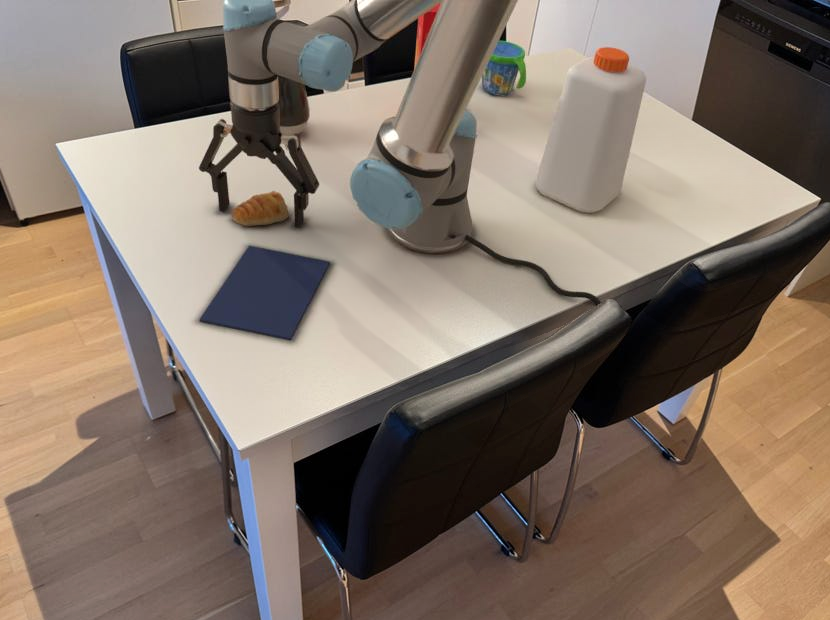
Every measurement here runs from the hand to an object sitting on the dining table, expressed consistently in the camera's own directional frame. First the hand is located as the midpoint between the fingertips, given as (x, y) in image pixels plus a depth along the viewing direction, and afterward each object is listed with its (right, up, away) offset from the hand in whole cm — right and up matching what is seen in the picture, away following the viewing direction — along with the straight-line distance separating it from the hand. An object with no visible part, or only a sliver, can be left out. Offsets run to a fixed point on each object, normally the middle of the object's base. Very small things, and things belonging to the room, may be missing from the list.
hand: (261, 216), depth 131 cm
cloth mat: (+5, -15, -15) cm, 21 cm away
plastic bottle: (+59, +9, +19) cm, 63 cm away
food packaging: (+28, +30, +36) cm, 54 cm away
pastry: (0, 0, 0) cm, 0 cm away
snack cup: (+45, +41, +51) cm, 79 cm away
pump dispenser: (-1, +22, +24) cm, 33 cm away
